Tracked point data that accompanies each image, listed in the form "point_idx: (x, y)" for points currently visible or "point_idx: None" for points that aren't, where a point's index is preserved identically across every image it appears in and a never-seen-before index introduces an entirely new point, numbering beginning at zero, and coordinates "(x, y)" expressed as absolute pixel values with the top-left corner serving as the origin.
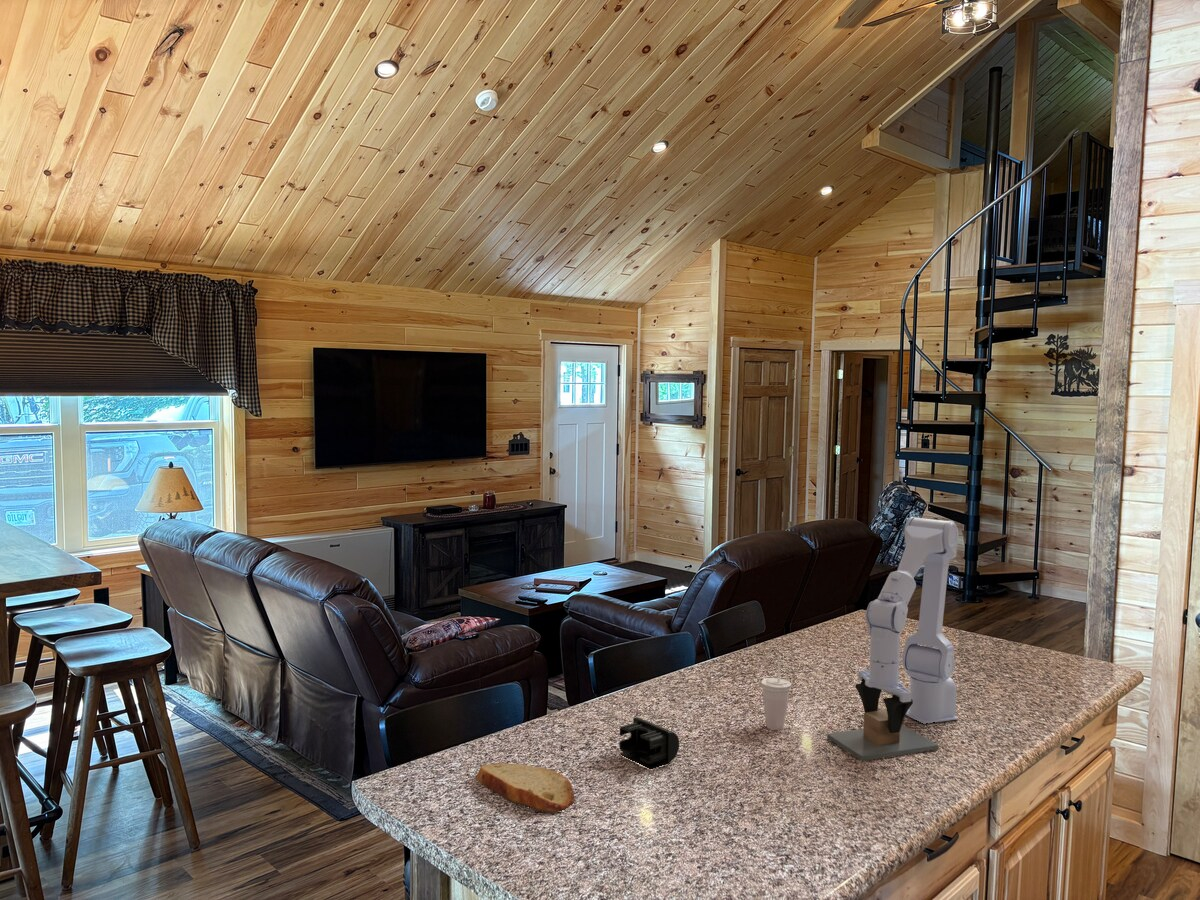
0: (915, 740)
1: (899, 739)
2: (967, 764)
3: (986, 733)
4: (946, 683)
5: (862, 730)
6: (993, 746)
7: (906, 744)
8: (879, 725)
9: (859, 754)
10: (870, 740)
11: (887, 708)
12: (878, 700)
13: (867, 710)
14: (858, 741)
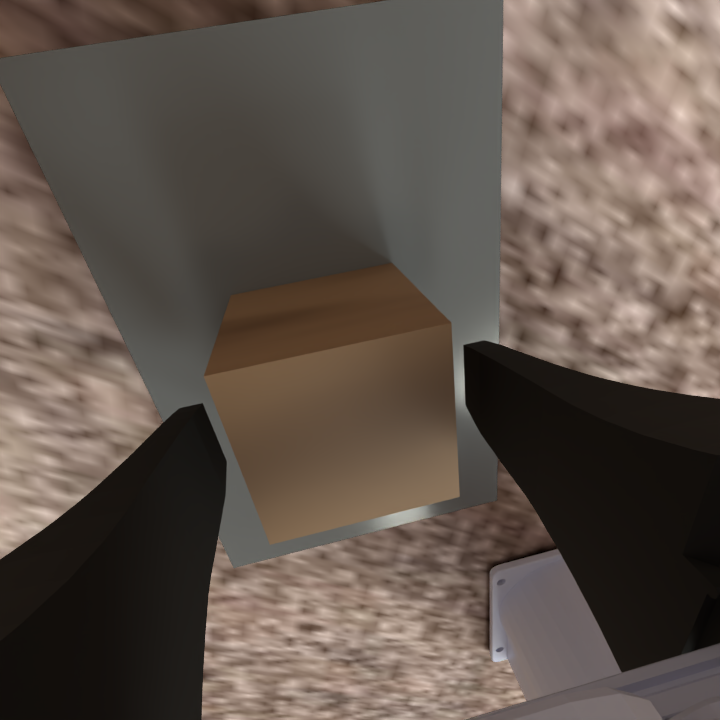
0: None
1: None
2: None
3: (371, 688)
4: None
5: (478, 298)
6: (263, 686)
7: None
8: (212, 360)
9: (31, 53)
10: (316, 278)
11: (59, 559)
12: (541, 518)
13: (499, 375)
14: (313, 186)
